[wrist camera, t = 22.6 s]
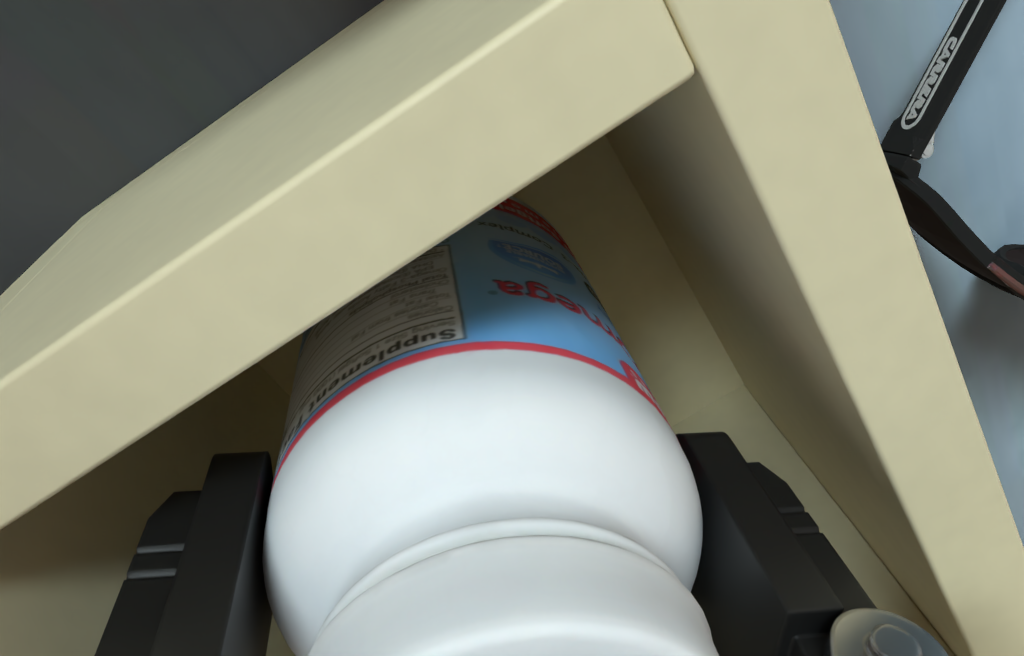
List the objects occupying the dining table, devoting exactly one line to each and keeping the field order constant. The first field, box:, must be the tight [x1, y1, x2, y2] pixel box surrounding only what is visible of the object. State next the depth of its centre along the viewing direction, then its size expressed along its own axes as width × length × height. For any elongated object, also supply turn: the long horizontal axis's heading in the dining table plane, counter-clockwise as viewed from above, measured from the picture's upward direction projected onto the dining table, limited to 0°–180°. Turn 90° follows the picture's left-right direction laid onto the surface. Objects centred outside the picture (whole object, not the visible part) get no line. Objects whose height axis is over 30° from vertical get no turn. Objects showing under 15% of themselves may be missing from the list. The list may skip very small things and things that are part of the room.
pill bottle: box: [262, 196, 719, 656], centre depth 12 cm, size 6×6×11 cm
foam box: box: [0, 0, 1024, 656], centre depth 15 cm, size 15×13×11 cm
